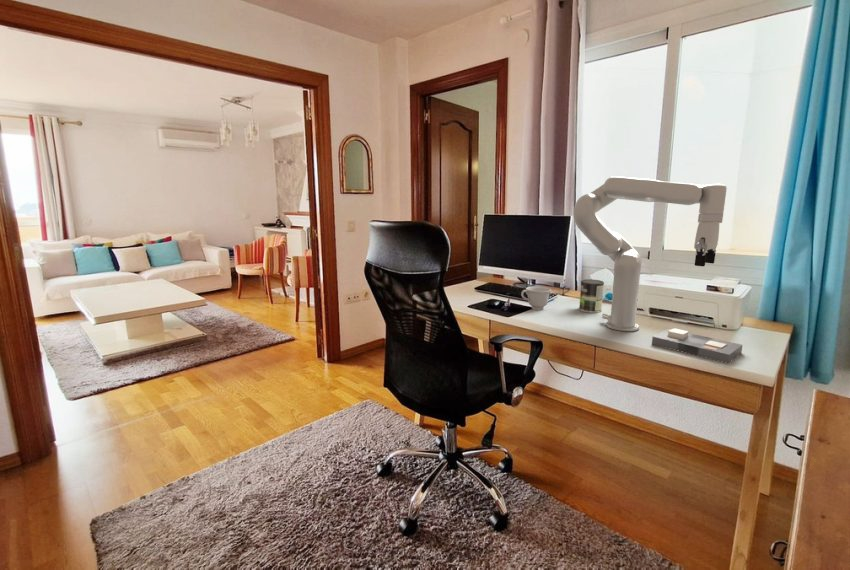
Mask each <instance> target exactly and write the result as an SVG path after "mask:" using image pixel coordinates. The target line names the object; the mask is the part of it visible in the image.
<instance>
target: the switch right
mask: <svg viewBox="0 0 850 570" xmlns="http://www.w3.org/2000/svg"><path fill="white" fill-rule="evenodd" d="M705 345H707V346H711V347H716V348H720V349H723V348H724V347H726V345H727V344H724V343H719V342H715V341H708V342H707V343H705Z"/></svg>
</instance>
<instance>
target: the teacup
mask: <svg viewBox="0 0 850 570" xmlns="http://www.w3.org/2000/svg"><path fill="white" fill-rule="evenodd" d="M551 291H552V289H551V288H550V287H547V286H542V285H541V286H540V285H539V286H538V285H537V286H536V285H533V286H528V287H526V288H525V289H523V290H522V291H521V294H520V295H521V296H520V297H522V299H523V300H525V301H526V300H527V301H528V304H529V306H531V309H532V310H535V311H542V310H544V307H545V306H547V305H548V302H549V297H550V292H551ZM524 293H525V294H526V295H527V297H526V296H525V295H524Z"/></svg>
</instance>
